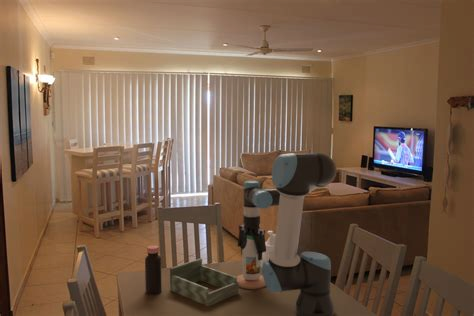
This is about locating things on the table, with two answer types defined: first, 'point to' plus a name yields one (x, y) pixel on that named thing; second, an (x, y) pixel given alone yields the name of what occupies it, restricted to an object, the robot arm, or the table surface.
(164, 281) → the table surface
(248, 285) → the pink round disc
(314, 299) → the robot arm
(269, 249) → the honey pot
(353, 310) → the table surface
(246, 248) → the milk bottle
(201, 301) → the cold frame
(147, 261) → the vinegar
